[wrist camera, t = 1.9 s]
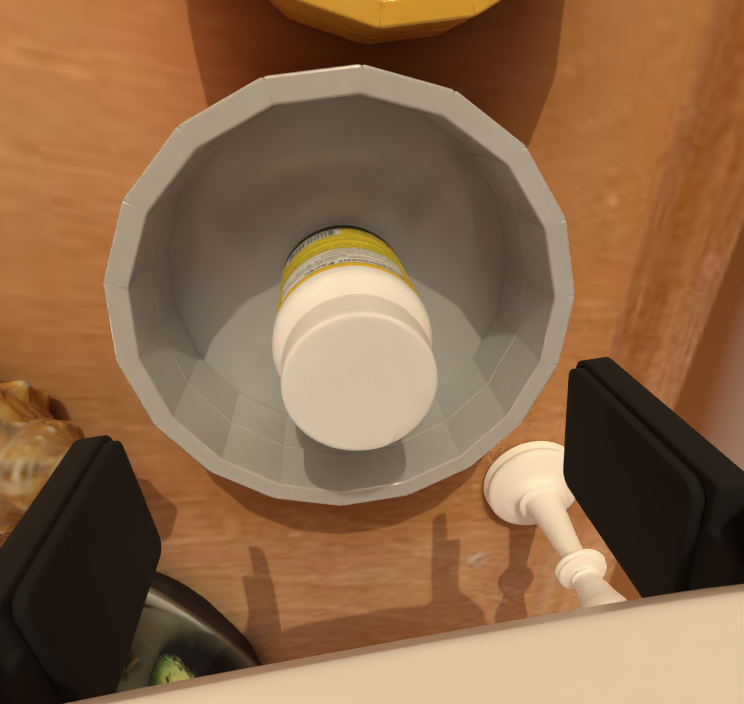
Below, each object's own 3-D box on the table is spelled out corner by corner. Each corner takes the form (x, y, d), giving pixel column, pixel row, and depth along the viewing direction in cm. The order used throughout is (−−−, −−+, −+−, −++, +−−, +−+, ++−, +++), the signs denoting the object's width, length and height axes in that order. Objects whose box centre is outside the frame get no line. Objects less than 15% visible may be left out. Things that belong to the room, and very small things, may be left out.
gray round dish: (94, 103, 17) (18, 106, 13) (523, 49, 18) (593, 33, 13) (205, 450, 24) (181, 532, 19) (518, 402, 24) (563, 471, 20)
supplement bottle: (381, 348, 22) (416, 480, 14) (270, 322, 21) (245, 449, 13) (418, 239, 20) (481, 325, 12) (298, 205, 19) (287, 275, 11)
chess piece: (498, 435, 25) (600, 624, 16) (591, 444, 26) (737, 628, 17) (472, 513, 27) (549, 718, 18) (558, 519, 28) (674, 718, 19)
